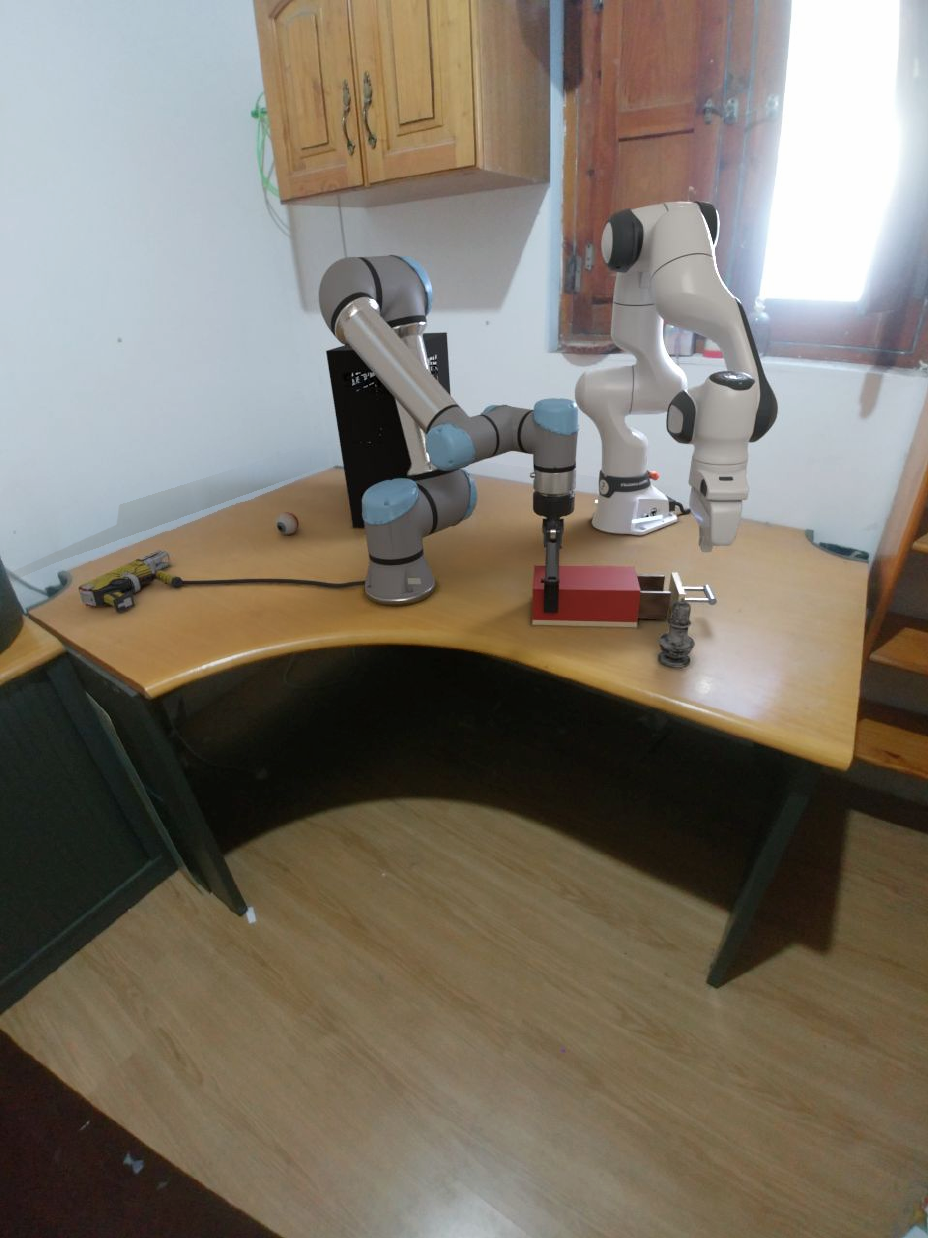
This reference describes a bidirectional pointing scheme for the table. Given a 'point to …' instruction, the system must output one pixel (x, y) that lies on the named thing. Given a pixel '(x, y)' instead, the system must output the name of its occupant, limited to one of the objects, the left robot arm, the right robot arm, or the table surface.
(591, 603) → the cabinet
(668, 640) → the chess piece
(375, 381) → the cardboard box
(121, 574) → the toy gun
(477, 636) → the table surface
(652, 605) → the drawer
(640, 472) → the right robot arm
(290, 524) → the eyeball
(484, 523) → the table surface
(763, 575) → the table surface
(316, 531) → the table surface
